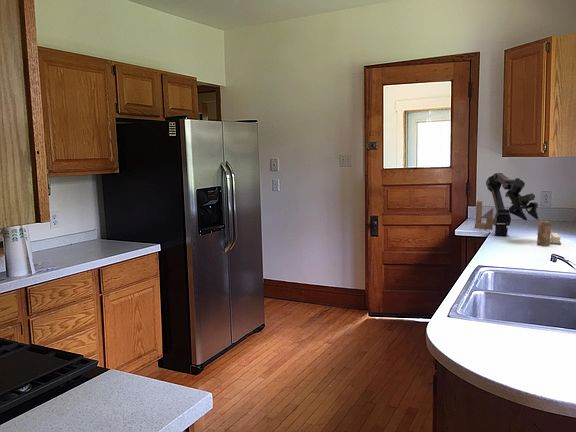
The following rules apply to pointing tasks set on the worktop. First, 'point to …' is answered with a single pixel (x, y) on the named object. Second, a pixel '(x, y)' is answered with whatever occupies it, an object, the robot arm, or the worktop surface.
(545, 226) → the post
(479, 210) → the wooden angular frame
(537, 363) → the worktop surface
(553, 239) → the stand
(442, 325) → the worktop surface
